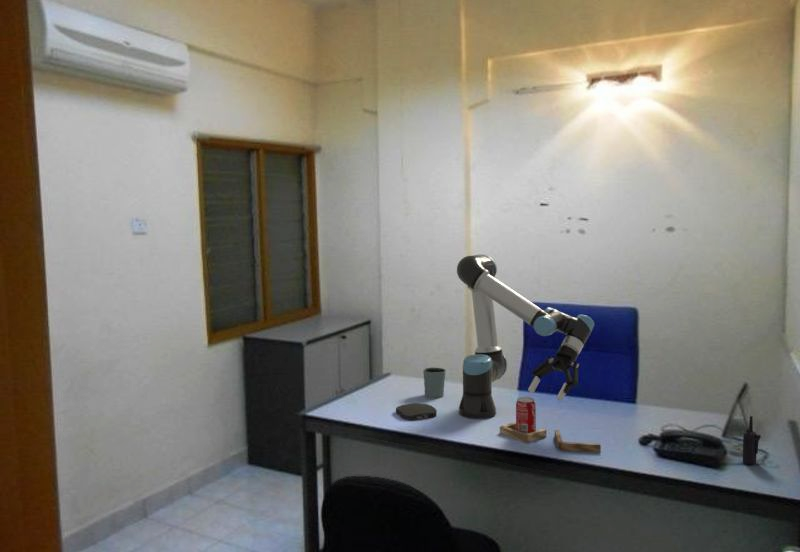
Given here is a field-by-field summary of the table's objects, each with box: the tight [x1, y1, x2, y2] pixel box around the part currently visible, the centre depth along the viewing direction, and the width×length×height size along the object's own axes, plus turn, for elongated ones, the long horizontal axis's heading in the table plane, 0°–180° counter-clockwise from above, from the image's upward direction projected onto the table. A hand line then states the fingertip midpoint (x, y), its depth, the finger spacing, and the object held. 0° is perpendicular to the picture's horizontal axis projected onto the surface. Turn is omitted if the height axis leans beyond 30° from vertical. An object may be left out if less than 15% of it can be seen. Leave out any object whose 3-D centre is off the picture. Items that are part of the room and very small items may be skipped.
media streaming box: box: [395, 402, 438, 421], centre depth 247 cm, size 15×15×3 cm
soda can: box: [515, 396, 537, 434], centre depth 221 cm, size 7×7×13 cm
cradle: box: [554, 429, 602, 453], centre depth 208 cm, size 10×20×2 cm, turn 36°
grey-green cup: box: [422, 367, 447, 399], centre depth 274 cm, size 10×10×12 cm
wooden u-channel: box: [499, 421, 547, 444], centre depth 221 cm, size 11×13×2 cm
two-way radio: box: [742, 415, 762, 465], centre depth 192 cm, size 6×4×15 cm
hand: (544, 395), depth 225 cm, fingers open, 13 cm apart
